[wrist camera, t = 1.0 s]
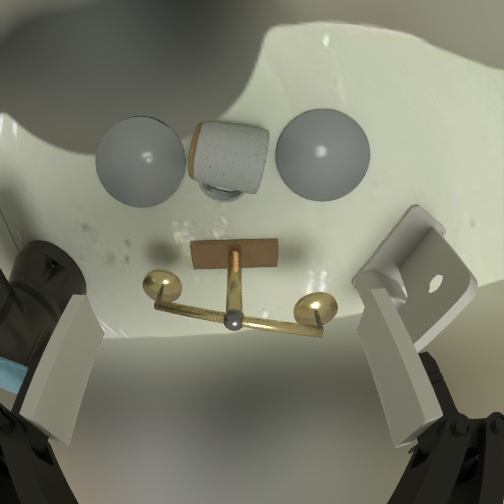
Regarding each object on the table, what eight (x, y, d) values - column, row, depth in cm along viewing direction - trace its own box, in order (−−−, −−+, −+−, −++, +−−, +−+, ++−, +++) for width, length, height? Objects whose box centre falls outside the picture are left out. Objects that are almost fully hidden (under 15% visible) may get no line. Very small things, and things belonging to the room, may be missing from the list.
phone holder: (384, 301, 49) (421, 381, 35) (346, 283, 46) (381, 375, 32) (446, 229, 41) (507, 300, 26) (412, 200, 38) (484, 276, 23)
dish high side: (275, 199, 38) (275, 201, 37) (276, 106, 31) (277, 107, 30) (361, 199, 38) (363, 202, 37) (372, 113, 31) (374, 114, 30)
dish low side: (107, 207, 37) (105, 210, 36) (91, 124, 30) (89, 125, 29) (190, 201, 37) (189, 204, 37) (181, 110, 30) (180, 111, 30)
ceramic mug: (200, 114, 31) (190, 126, 25) (267, 124, 32) (274, 138, 26) (191, 192, 37) (181, 220, 31) (251, 200, 38) (253, 230, 32)
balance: (159, 267, 43) (133, 353, 30) (152, 239, 40) (119, 324, 27) (313, 263, 44) (340, 348, 30) (316, 234, 41) (350, 318, 28)
